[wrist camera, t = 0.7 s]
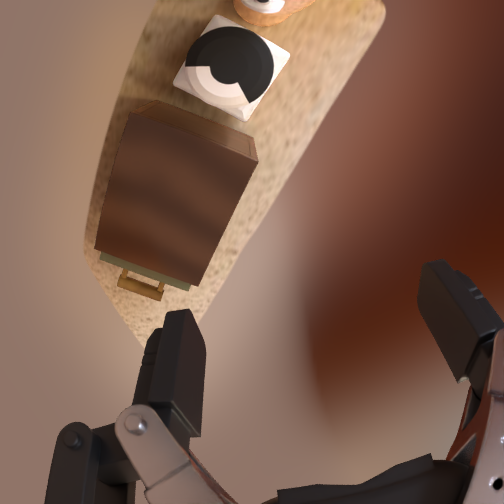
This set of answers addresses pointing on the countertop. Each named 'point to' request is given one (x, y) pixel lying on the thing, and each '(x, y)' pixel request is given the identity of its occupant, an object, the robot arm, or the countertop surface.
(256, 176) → the countertop surface
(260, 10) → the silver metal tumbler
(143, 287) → the drawer
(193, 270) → the cabinet
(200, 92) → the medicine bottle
